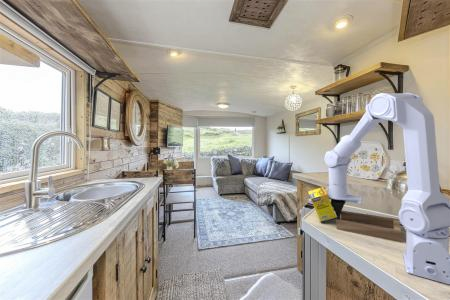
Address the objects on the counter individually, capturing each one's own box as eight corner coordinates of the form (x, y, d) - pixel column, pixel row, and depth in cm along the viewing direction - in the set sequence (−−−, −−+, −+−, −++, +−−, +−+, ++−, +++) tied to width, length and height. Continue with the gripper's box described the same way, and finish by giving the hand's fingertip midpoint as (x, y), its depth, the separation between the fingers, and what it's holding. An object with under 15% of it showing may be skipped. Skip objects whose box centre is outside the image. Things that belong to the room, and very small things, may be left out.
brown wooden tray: (401, 242, 59) (401, 232, 59) (336, 229, 70) (336, 220, 69) (398, 227, 68) (398, 219, 68) (341, 217, 78) (341, 210, 78)
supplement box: (337, 219, 73) (327, 194, 71) (321, 223, 75) (310, 199, 73) (332, 210, 79) (323, 186, 77) (317, 214, 80) (307, 191, 78)
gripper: (362, 182, 72) (363, 219, 73) (319, 179, 81) (320, 212, 82) (360, 187, 66) (361, 227, 67) (314, 183, 75) (315, 218, 76)
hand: (338, 219), depth 74 cm, fingers closed, pressing on supplement box
